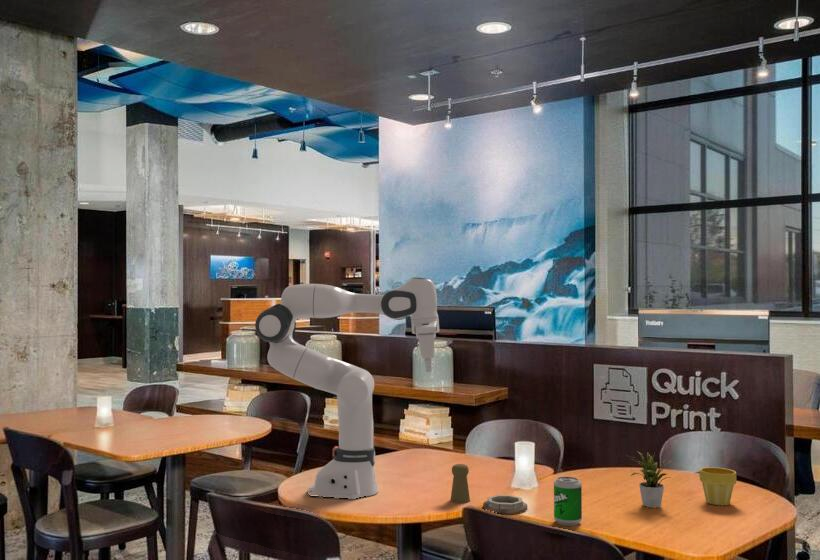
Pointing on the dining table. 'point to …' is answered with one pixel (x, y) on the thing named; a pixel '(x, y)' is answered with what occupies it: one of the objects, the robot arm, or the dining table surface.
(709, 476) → the plant pot
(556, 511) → the soda can
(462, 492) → the cork
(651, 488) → the house plant
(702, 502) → the dining table surface
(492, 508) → the grey octagonal ring
